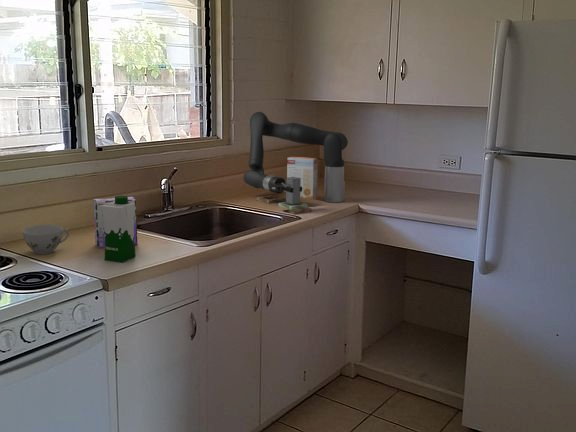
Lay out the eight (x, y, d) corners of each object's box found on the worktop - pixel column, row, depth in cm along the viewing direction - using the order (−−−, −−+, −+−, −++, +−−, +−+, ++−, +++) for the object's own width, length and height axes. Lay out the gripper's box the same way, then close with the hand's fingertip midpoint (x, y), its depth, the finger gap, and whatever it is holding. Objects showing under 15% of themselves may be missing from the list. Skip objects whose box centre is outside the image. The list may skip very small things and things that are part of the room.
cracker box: (317, 200, 301) (318, 157, 297) (312, 202, 296) (313, 159, 291) (291, 197, 307) (292, 155, 302) (286, 199, 301) (287, 157, 297)
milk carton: (139, 256, 201) (137, 196, 197) (122, 264, 193) (120, 201, 188) (117, 253, 204) (114, 194, 200) (99, 260, 196) (96, 199, 192)
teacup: (32, 259, 196) (30, 235, 194) (18, 251, 205) (16, 228, 203) (77, 251, 206) (76, 228, 204) (62, 243, 215) (61, 221, 213)
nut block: (293, 202, 279) (294, 176, 277) (300, 204, 276) (300, 178, 273) (286, 203, 276) (286, 177, 274) (292, 205, 273) (292, 178, 270)
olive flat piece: (271, 200, 297) (271, 194, 297) (311, 211, 274) (311, 205, 274) (254, 203, 291) (254, 196, 291) (294, 214, 268) (294, 207, 268)
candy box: (97, 248, 210) (94, 201, 206) (95, 244, 215) (92, 198, 211) (138, 245, 215) (136, 199, 212) (135, 241, 220) (133, 196, 217)
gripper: (261, 177, 280) (284, 182, 267) (286, 175, 289) (309, 180, 276) (261, 193, 282) (284, 199, 269) (286, 190, 291) (309, 196, 278)
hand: (297, 189), depth 273 cm, fingers closed on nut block, 4 cm apart
